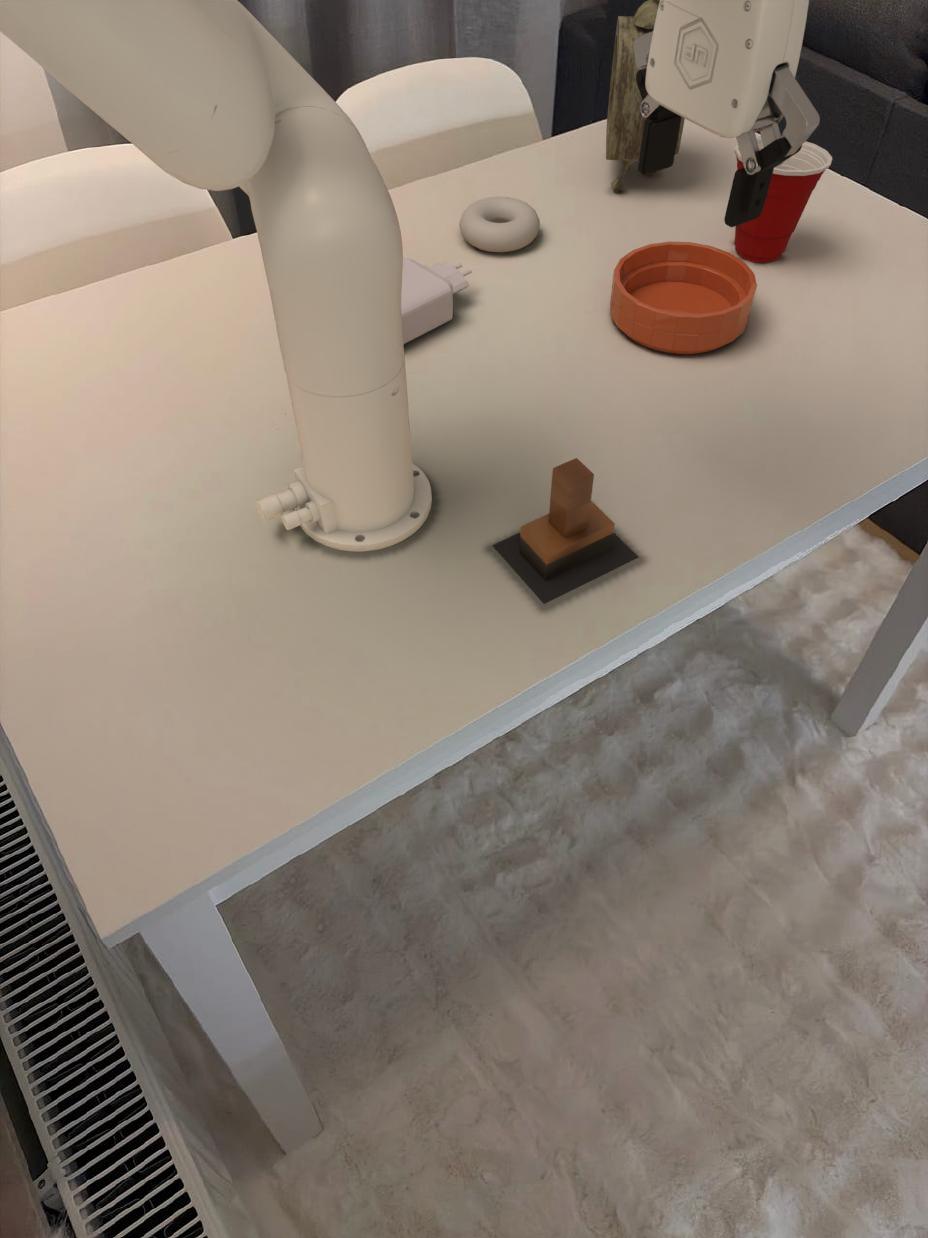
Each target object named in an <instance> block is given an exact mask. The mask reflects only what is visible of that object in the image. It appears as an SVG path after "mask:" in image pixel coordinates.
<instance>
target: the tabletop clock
mask: <svg viewBox="0 0 928 1238" xmlns="http://www.w3.org/2000/svg"><path fill="white" fill-rule="evenodd" d="M659 3H660V0H646V1H645V0H644V2H643V3H642V4H641V5H639V7H638V8H637V10H636V11H635V13H634V14H633V16H630V15H629V16H628V15H627V16H626V15H618V16H617V18H616V19H617V20H616V28H615V36H614V37H615V38H614V46H613V54H612V65H611V73H610V85H609V93H608V105H607V116H606V131H605V132H606V133H605V134H606V135H605V158H606V161H623V164H622V167H621V170H620V172H619V174H618V175H619V176H618V177H616V178H614V179H613V180H612V182H611V183H610V187H611V190H612V191H613V192H615V193H618V192H620V191H622V190H623V189H624V186H625V184H624V181H623V179H624V177H625V175H626V173H627V172H628V170H629V168H630V167H631V166H632V164H634V162H639V157H640V150H641V144H642V137H643V130H644V123H645V120H646V118H645V117H643V116H642V114H641V112H640V105H641V102H642V101H643V100H642V97H641V94H640V91H639V89H638V86H637V83H636V74H637V72H638V68H637V69H636V62H635V55H634V48H633V42H634V39H635V38H636V37H639V36H641V35H644V34H646V33H649V32H652V31H653V30H654V25H655V21H656V16H657V11H658V7H659ZM685 121H686V119H685V118H683V117H681V123H680V129H679V134H678V140H677V146H676V151H675V156H676V155H678V154H679V152H680V146H681V142H682V138H683V132H684V125H685ZM657 172H658V171H656V172H653V173H650V174H648V175H650V176H654V175H655V174H656V173H657Z"/></svg>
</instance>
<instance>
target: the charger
mask: <svg viewBox="0 0 928 1238" xmlns="http://www.w3.org/2000/svg"><path fill="white" fill-rule="evenodd" d="M462 267H463V265H462V263H457V264H455V265H450V263H449V264H448V263H447V262H438V263H436V264H434V265H432V266H429V267H427V266H425V265H424V264H422V263H420V262H419V261H416V260H414V259H412V258H408V257H403V273H402V291H401V311H402V332H403V345H406V344H407V343H409V342H411V341H413V340H415V339H417V338H419V337H421V336H423V335H424V334H426V333H429V332H431V331H432V330H434V329H436V328H438V327H440V326H442V325H443V324H446V323H448V322H450V321H451V320H453V315H454V295H455V294H457V293H459V292H461V291H463V290H465V289H467V288H468V287H469V286H470V284H469V282H468V280H467V278H466V276H468V275H470V274H472V272H473V270H472V269H471V268H469V269H467V270H465V271H462V272H461V271H460V270H459V269H461V268H462Z"/></svg>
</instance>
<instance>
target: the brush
mask: <svg viewBox="0 0 928 1238" xmlns="http://www.w3.org/2000/svg"><path fill="white" fill-rule="evenodd" d="M594 479H595V474H594V472H592V471H591V469H589V468H588V467H587V466H586V465H585V464H584V463H583V462H582V461H581V460H579V459H578V457H575V458H574V459H571V460H568V461H565V462H564V463H562V464H559V465H556V466H554V467H553V468H552V474H551V485H550V495H549V496H550V497H549V510H548V513H547V514H545V515H543V516H540V517H538V518H537V519H534V520H532V521H530V522H528V523H525V524H523V525H520V529H519V530H520V531H519V533H520V547H519V553H520V554H521V555H522V556H523V557H524V558H525V559H526V560H527V562H528V563H529V564H530V565H531V566H532V567H533V568H534V569H535V570H536V571H537V573H538V574H539V575H540V576H541V577H542V578H543V579H544V580H545V581H546V580H548V579H551V578H553V577H555V576H557V575H559V574H561V573H563V572H565V571H567V570H569V569H571V568H573V567H575V566H577V565H579V564H581V563H584V562H586V561H588V560H590V559H592V558H594V557H596V556H598V555H600V554H602V553H604V552H606V551H608V550H610V549H611V545H612V539H613V532H614V531H615V524H616V523H615V522H614V521H613V520H612V519H611V518H610V517H609V516H608V514H607V515H606V513H605V512H604V511H603V510H602V509H601V508H600V507H598V505H596V504H595V503H594V501H593V500H592V495H593V488H594ZM614 533H615V532H614Z"/></svg>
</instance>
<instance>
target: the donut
mask: <svg viewBox="0 0 928 1238" xmlns="http://www.w3.org/2000/svg"><path fill="white" fill-rule="evenodd" d="M539 217H540V216H538V213H537V211H536V209H535V208H533V207H532V205H530V204H529V203H528V202H526V201H523V200H521V199H518V198H514V197H510V196H491V197H486V198H481V199H478V200H476V201H474V202H472V203H470V204H469V205H468V206H467V207H466V208H465V209H464V210H463V212H462V213H461V216H460V219H459V229H460V233H461V235H462V237H463V239H465V241H466V242H467V243H468V244H469V245H471V246H472V247H474V248H476V249H478V250H482V251H485V252H490V253H508V252H514V251H517V250H521V249H523V248H524V247H527V246H529V245H530V244H531V243H532V242H533V241H534V240H535V238H537V236H538V235H539V230H540V226H541V222H540V218H539Z"/></svg>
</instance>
